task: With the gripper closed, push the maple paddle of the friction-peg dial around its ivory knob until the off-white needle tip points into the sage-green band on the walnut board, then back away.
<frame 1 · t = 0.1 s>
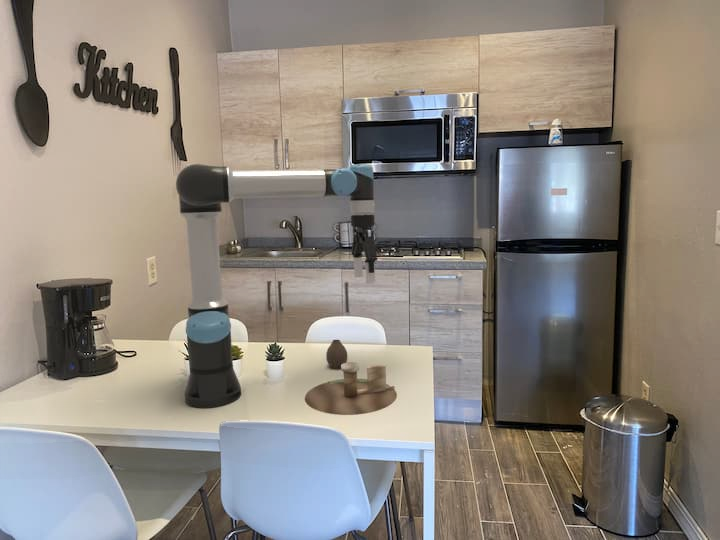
hand: (364, 279, 163), 28 cm above the table, fingers open, 13 cm apart
vase: (337, 367, 164), on the table
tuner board: (351, 399, 137), on the table
peg lever: (368, 377, 137), point 6 cm above the table, hinge at 0.0°
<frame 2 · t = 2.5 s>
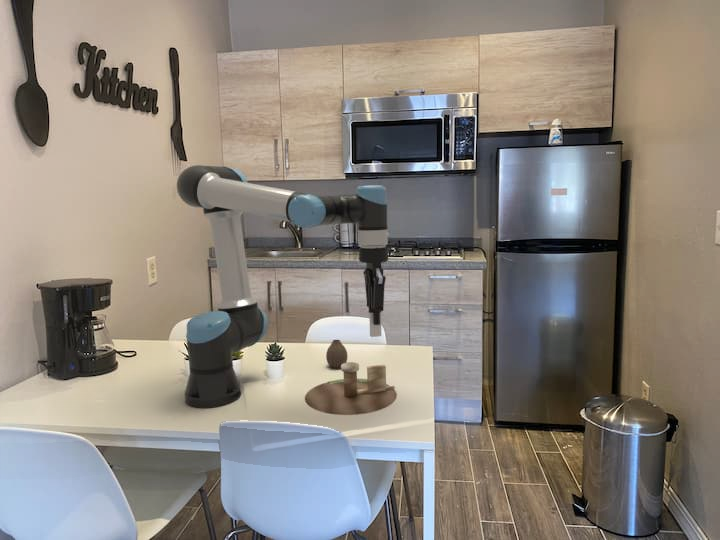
hand: (375, 335, 132), 18 cm above the table, fingers closed
nothing on the table moved.
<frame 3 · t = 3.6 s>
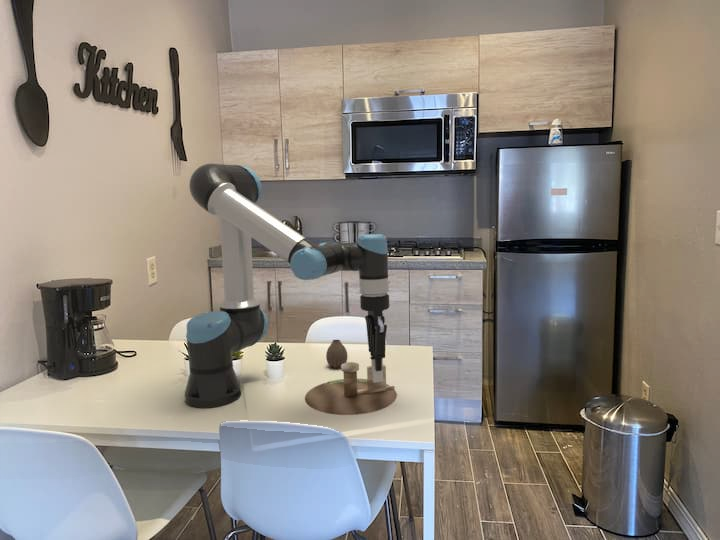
hand: (377, 381, 133), 6 cm above the table, fingers closed
nothing on the table moved.
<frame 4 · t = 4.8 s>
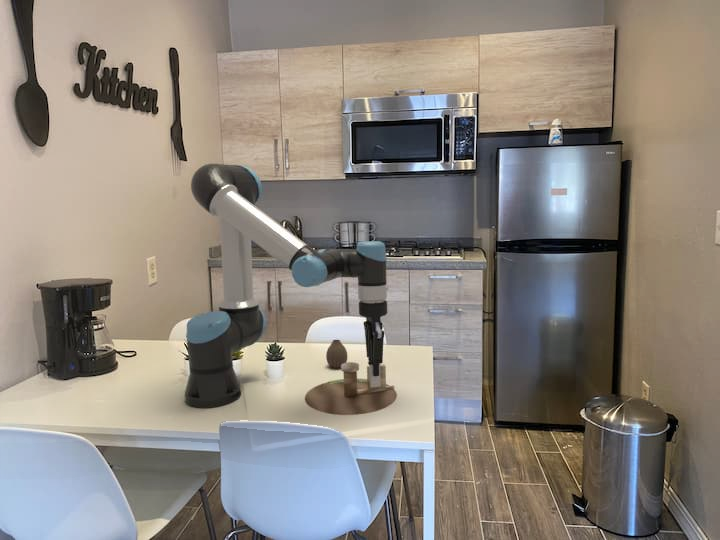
hand: (375, 386, 135), 4 cm above the table, fingers closed
peg lever: (368, 377, 137), point 6 cm above the table, hinge at 1.0°, touching gripper
everything else where it was.
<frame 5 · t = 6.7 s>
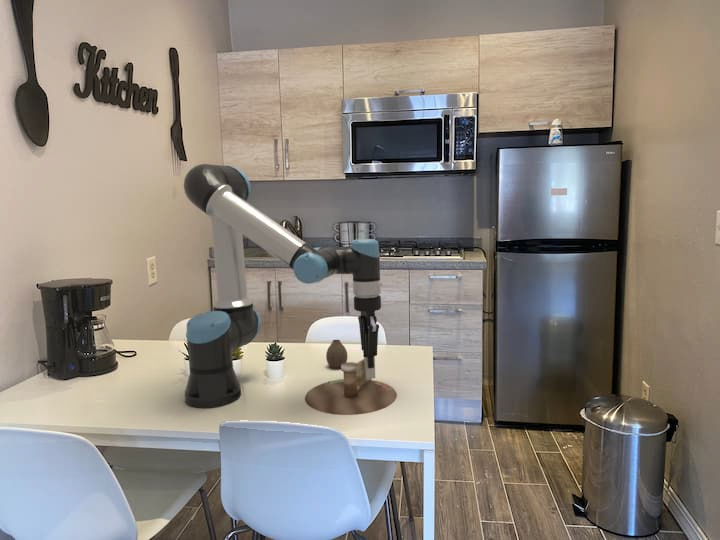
hand: (370, 377, 141), 4 cm above the table, fingers closed
peg lever: (359, 373, 140), point 6 cm above the table, hinge at 46.5°, touching gripper
everything else where it was.
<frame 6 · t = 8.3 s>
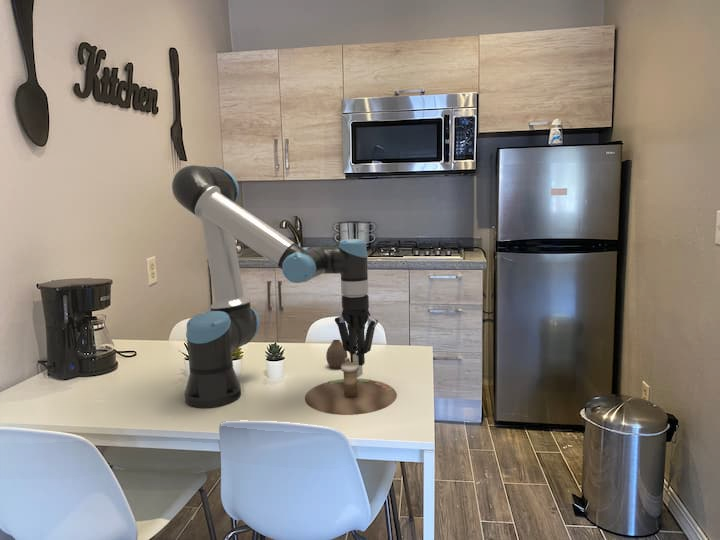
hand: (358, 375, 144), 4 cm above the table, fingers closed
peg lever: (348, 373, 141), point 6 cm above the table, hinge at 79.8°, touching gripper
everything else where it was.
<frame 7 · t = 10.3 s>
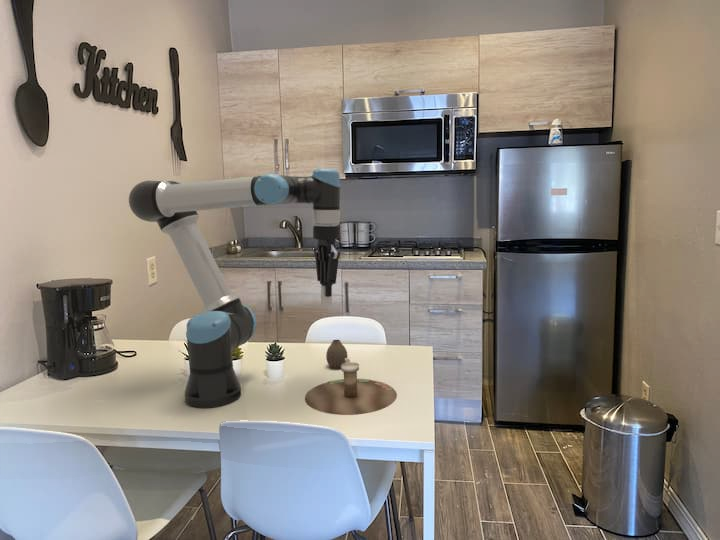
hand: (326, 307, 144), 24 cm above the table, fingers closed
peg lever: (348, 373, 141), point 6 cm above the table, hinge at 80.1°
everything else where it was.
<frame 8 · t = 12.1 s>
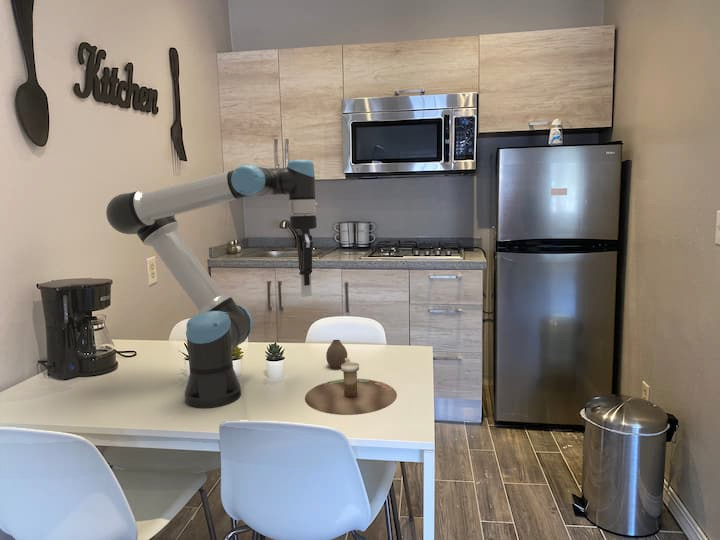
hand: (306, 295, 147), 26 cm above the table, fingers closed
nothing on the table moved.
at the end: peg lever at +80° (first picture: +0°) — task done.
